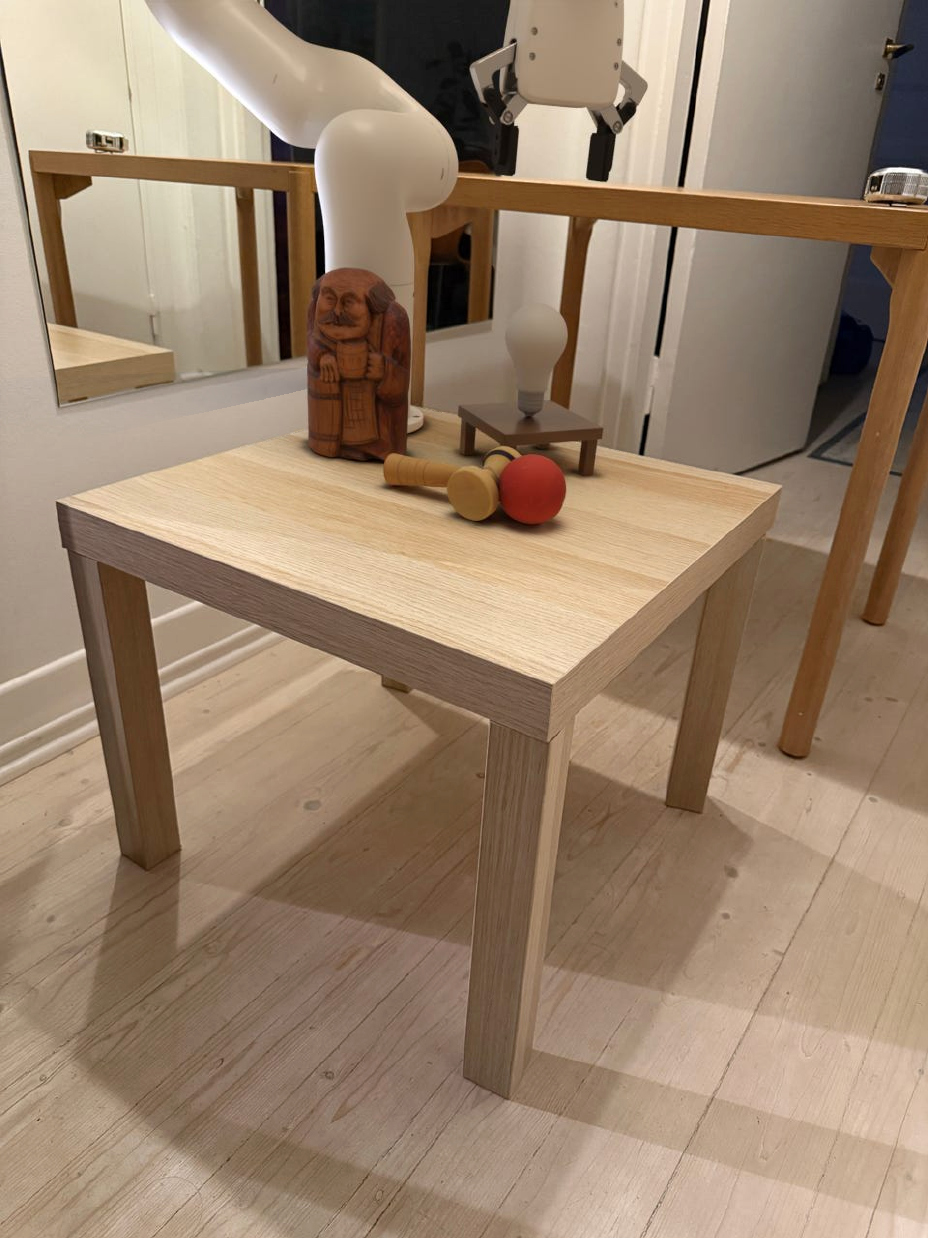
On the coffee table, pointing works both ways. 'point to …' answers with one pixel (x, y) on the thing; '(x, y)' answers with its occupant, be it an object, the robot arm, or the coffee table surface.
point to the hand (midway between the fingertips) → (551, 177)
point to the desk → (530, 429)
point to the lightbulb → (535, 351)
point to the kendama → (489, 484)
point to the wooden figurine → (357, 367)
